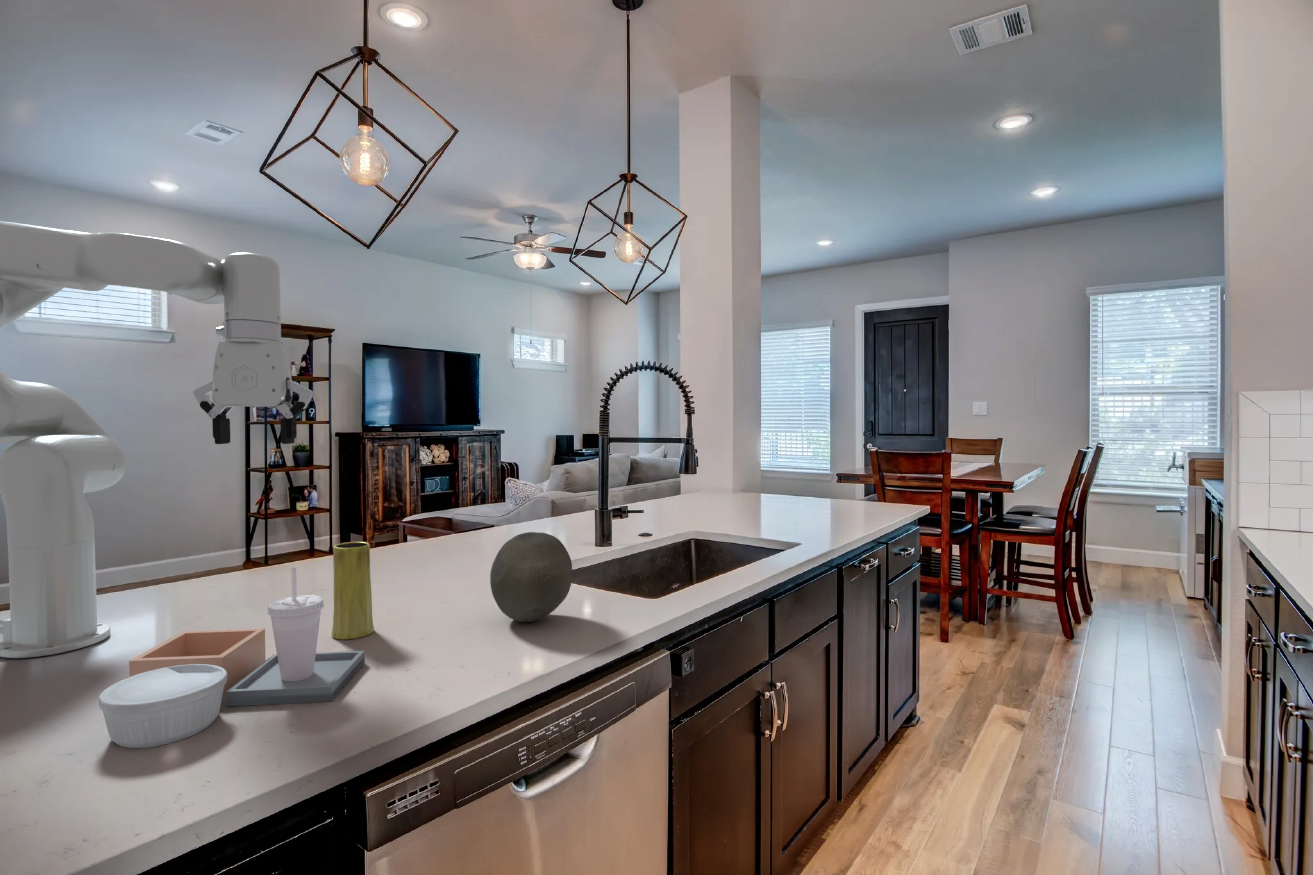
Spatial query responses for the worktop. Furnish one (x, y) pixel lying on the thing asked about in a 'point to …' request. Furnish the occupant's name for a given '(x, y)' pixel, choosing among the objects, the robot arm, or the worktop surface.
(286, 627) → the smoothie
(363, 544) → the vase
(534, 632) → the worktop surface
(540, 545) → the dark grey ball
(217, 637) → the holder
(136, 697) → the ramekin
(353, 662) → the tray
